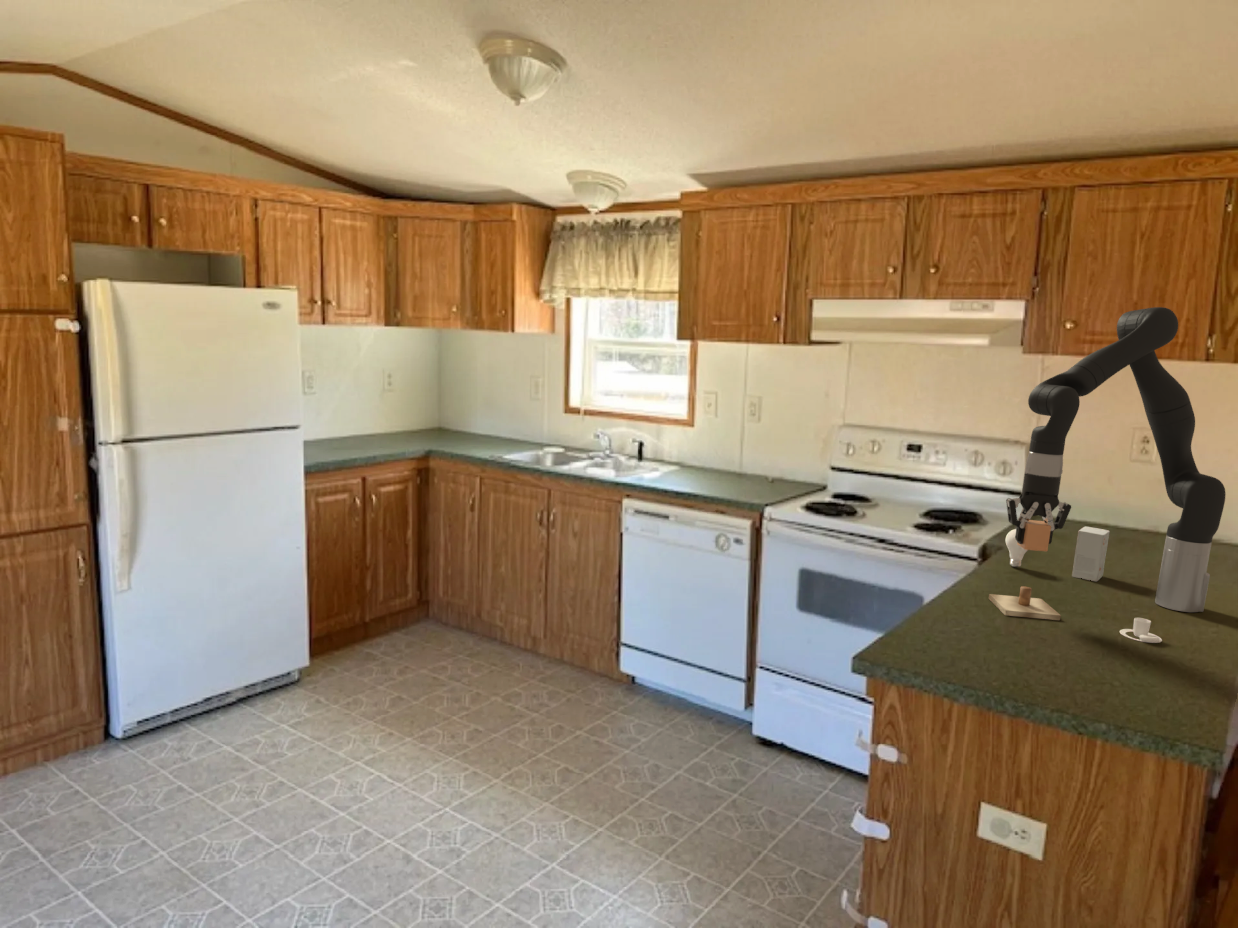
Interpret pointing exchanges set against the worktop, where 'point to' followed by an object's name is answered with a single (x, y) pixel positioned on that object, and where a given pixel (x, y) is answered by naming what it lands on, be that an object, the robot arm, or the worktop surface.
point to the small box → (1090, 553)
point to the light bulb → (1014, 549)
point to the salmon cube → (1036, 536)
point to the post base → (1024, 605)
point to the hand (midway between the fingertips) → (1032, 543)
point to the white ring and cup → (1141, 631)
